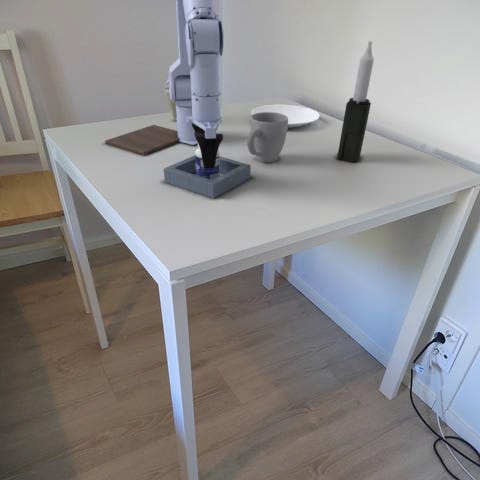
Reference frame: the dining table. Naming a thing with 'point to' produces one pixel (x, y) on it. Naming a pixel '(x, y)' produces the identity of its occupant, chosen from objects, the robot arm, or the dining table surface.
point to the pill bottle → (207, 172)
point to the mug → (267, 135)
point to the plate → (290, 113)
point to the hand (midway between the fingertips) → (207, 162)
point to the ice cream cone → (171, 104)
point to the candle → (357, 112)
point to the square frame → (185, 179)
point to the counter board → (145, 139)
